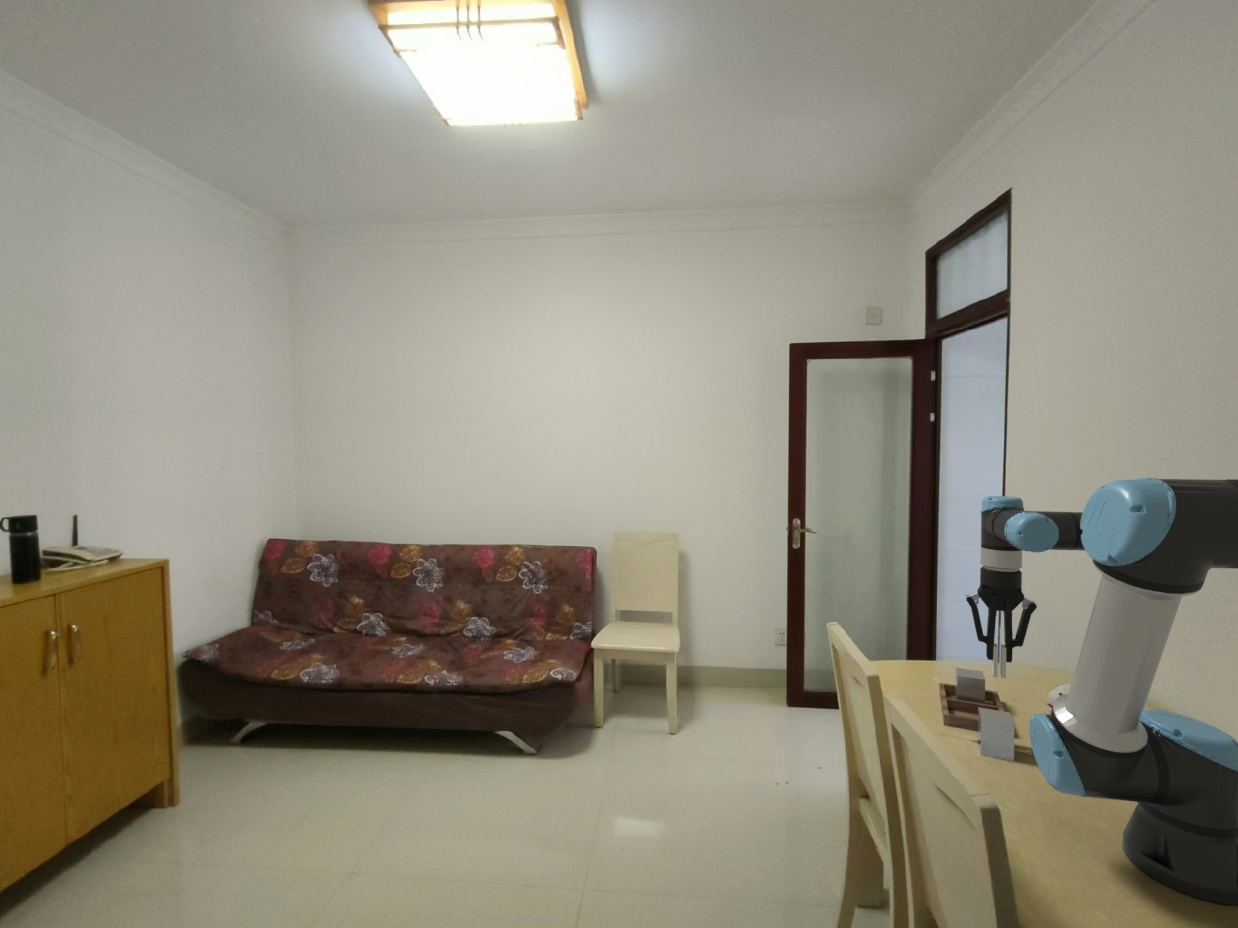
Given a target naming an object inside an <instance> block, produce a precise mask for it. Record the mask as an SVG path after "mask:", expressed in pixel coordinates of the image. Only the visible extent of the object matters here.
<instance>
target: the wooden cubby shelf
mask: <svg viewBox="0 0 1238 928" xmlns="http://www.w3.org/2000/svg"><path fill="white" fill-rule="evenodd" d="M938 688H939V689H938V690H939V698H940V699H939V701H940V705H941V707H940V708H941V712H942V713H941V715H942V723H943V726H946V727H951V728H957V729H961V730H962V729H963V730H968V731H973V732H978V707H979V708H985V709H991V710H997V711H1003V712H1005V709H1004V707H1003V704H1002V702H1001V699H1000V696H999V693H998V691H995V690H990V689H985V704H982V703H976V702H970V701H964V700H957V699H955V684H950V683H944V682H939V687H938Z"/></svg>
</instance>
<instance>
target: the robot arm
mask: <svg viewBox="0 0 1238 928" xmlns="http://www.w3.org/2000/svg"><path fill="white" fill-rule="evenodd" d="M1048 550H1049V551H1052V550H1053V551H1054V550H1055V551H1085V552H1086V553H1087V555H1088V556H1089V558H1091V559H1092V560H1091V561H1092V564H1093V567H1094V568H1095V569H1096V570H1097V571H1098V572H1099V573H1100V574H1101V577H1100V581H1099V585H1098V587H1097V591H1096V595H1095V598H1094V599H1095V600H1094V603H1093V607H1092V609H1091V613H1090V616H1089V617H1090V618H1089V620H1088V625H1087V627H1086V631H1085V635H1084V638H1083V642H1082V645H1081V649H1080V653H1079V656H1078V661H1077V664H1076V667H1075V670H1074V675H1073V679H1072V681H1071V684H1072V685H1071V688H1070V692H1069V693H1067V694H1063V695H1061V696H1059V697H1058V698H1057V699H1056V700H1055V702H1054V704H1053V708H1052V711H1051V713H1050V714H1045V713H1043V712H1040V713H1039V714H1038V713H1037V714H1034V715H1032V716H1031V717H1030V720H1029V725H1028V729H1029V731H1028V732H1029V739H1030V744H1031V745H1030V746H1031V750H1032V753H1033V756H1034V759H1035V762H1036V763H1037V764H1036V765H1037V766H1038V769H1039V771H1040V773H1041V774H1042V776H1043V778H1044V779H1045V780H1046V781H1045V782H1047V783H1048V785H1049V786H1050V787H1051V788H1052V789H1054V790H1056V791H1057V792H1059V793H1061V794H1065V795H1066V794H1067V795H1072V796H1078V797H1080V798H1093V799H1104V800H1105V799H1106V800H1116V801H1124V802H1128V801H1129V802H1135V803H1136V802H1137V804H1136V806H1135V808H1134V810H1133V812H1132V814H1131V815H1130V817H1129V820H1128V821H1127V823H1126V825H1125V827H1124V829H1123V832H1122V851H1123V853H1124V854H1125V856H1126V857H1127V859H1128V860H1129V861H1130V862H1131V863H1132V864H1133V865H1134V866H1136V867H1137V868H1138V869H1139V870H1141V871H1142V872H1143V873H1145V874H1146V875H1148V876H1150V877H1151V878H1152V879H1154V880H1156V881H1157V882H1160V883H1161V884H1163V885H1166V886H1167V887H1169V888H1172V889H1174V890H1176V891H1179V892H1180V893H1183V894H1186V895H1189V896H1192V897H1194V898H1197V899H1201V900H1204V901H1206V902H1207V901H1208V902H1212V903H1217V904H1223V905H1232V906H1238V741H1237V740H1236V739H1235V738H1234V737H1233V736H1231V735H1230V734H1229V733H1227V732H1225V731H1223V730H1221V729H1219V728H1217V727H1216V726H1213V725H1211V724H1208V723H1206V722H1203V721H1201V720H1198V719H1195V718H1194V717H1190V716H1186V715H1183V714H1180V713H1176V712H1172V711H1168V710H1163V709H1162V710H1161V709H1157V708H1145V706H1146V704H1147V703H1146V702H1147V700H1148V697H1149V694H1150V691H1151V688H1152V685H1153V682H1154V681H1155V676H1156V674H1157V670H1158V667H1159V665H1160V663H1161V659H1162V656H1163V653H1164V651H1165V647H1166V645H1167V641H1168V638H1169V636H1170V633H1171V630H1172V627H1173V624H1174V621H1175V619H1176V615H1177V613H1178V610H1179V606H1180V604H1181V601H1182V598H1183V597H1187V596H1190V595H1194V594H1195V595H1196V594H1197V593H1199V592H1200V591H1201V590H1202V588H1203V586H1204V584H1205V580H1206V578H1207V576H1208V574H1209V571H1210V570H1211V569H1234V570H1235V569H1236V570H1237V569H1238V479H1235V478H1233V479H1232V478H1231V479H1228V478H1227V479H1198V478H1197V479H1195V478H1194V479H1187V478H1185V479H1181V478H1170V479H1169V478H1167V479H1166V478H1156V477H1139V478H1134V479H1117V480H1112V481H1110V482H1108V483H1107V484H1104V485H1101V486H1100V487H1099V488H1098V489H1095V491H1093V493H1092V494H1091V496H1090V497H1089V498H1088V500H1087V501H1086V503H1085V506H1084V507H1083V509H1082V512H1081V511H1072V512H1071V511H1049V510H1048V511H1040V510H1037V511H1036V510H1025V508H1024V502H1023V499H1022V498H1020V497H1016V496H1004V495H989V496H985V497H983V499H982V500H981V510H980V565H981V568H980V575H979V576H980V577H979V582H980V583H979V587H978V589H977V592H975V593H972V594H967V595H965V600H966V602H967V604H968V606H970V609H971V614H972V618H973V624H974V627H975V633H976V638H977V640H978V641H979V642H981V643H984V644H985V646H986V649H985V650H986V651H985V652H986V654H985V656H986V658H987V660H989V661H991V674H992V676H993V677H995V678H998V667H999V674H1000V677H1001V679H1006V678H1007V663H1012V662H1013V649H1014V648H1017V647H1020V648H1021V647H1023V646H1024V642H1025V638H1026V634H1027V630H1028V628H1029V623H1030V620H1031V617H1032V614H1034V612H1035V610H1036V609H1037V608H1038V606H1037V604H1036V602H1034V601H1033V600H1029V599H1028V598H1026V597H1025V594H1024V592H1023V591H1022V586H1023V585H1022V582H1023V572H1022V571H1021V570H1020V569H1021V568H1023V551H1024V552H1031V553H1043V552H1046V551H1048ZM979 599H981V601H982V602H983V603H984V605H985V606H986V607H987V609H988V610H987V624H986V625H987V626H986V635H985V634H984V631H983V627H982V621H981V618H980V617H981V616H980V612H979V608H978V604H979V603H980V601H979ZM1021 603H1022V604H1021ZM1020 604H1021V607H1022V611H1021V615H1020V618H1019V622H1018V626H1017V630H1016V633H1015V638H1013V637H1014V636H1013V611H1014V610H1015V609H1016V608H1017V607H1018V606H1019V605H1020ZM999 611H1002V612H1003V632H1004V644H1002V643H1000V658H999V656H998V655H999V647H998V644H997V643H996V642H995V638H996V637H995V636H996V622H997V620H996V619H997V614H998V613H997V612H999ZM998 659H1000V661H999V662H998ZM998 663H1000V666H999V665H998ZM1144 708H1145V709H1144Z"/></svg>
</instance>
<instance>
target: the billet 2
mask: <svg viewBox="0 0 1238 928" xmlns="http://www.w3.org/2000/svg"><path fill="white" fill-rule="evenodd" d="M977 744H978V746H977V747H978V750H979V754H980V756H985V757H991V758H996V759H1000V760H1005V761H1009V762H1015V722H1014V720H1013V716H1012V714H1011V712H1008V711H1004V712H1003V711H997V710H991V709H985V708H979V707H978V731H977Z"/></svg>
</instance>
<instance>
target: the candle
mask: <svg viewBox="0 0 1238 928" xmlns="http://www.w3.org/2000/svg"><path fill="white" fill-rule="evenodd" d="M1071 685H1072V683H1065V684H1061V685H1059V686H1058V687H1056V688H1054V689H1053V690H1051V691H1050V692H1049V693H1048V696H1047V702H1046V705H1047V711H1048V712H1049V713H1050V714H1051V711H1052V708H1053V704H1054V702H1055V700H1056V699H1057V698H1058V697H1059V696H1061V695H1063V694H1067V693H1069V692H1070V688H1071Z"/></svg>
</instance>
